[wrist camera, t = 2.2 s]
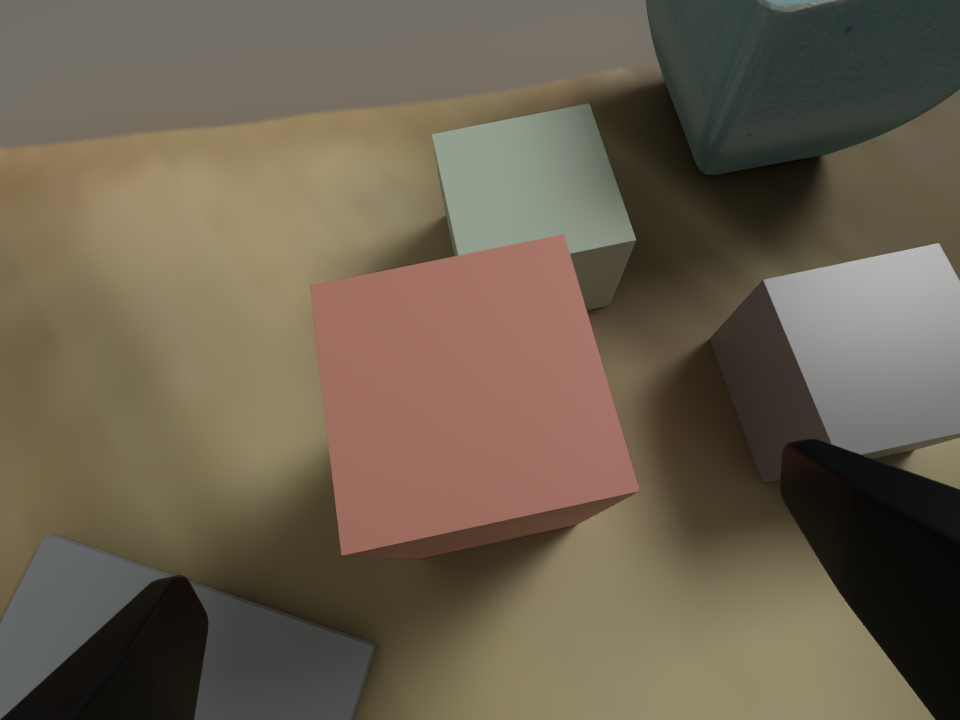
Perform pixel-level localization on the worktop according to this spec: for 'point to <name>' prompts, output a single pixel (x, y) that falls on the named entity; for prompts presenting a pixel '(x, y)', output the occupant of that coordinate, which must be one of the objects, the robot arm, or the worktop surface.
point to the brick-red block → (465, 403)
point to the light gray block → (847, 357)
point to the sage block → (538, 192)
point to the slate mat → (229, 648)
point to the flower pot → (800, 73)
